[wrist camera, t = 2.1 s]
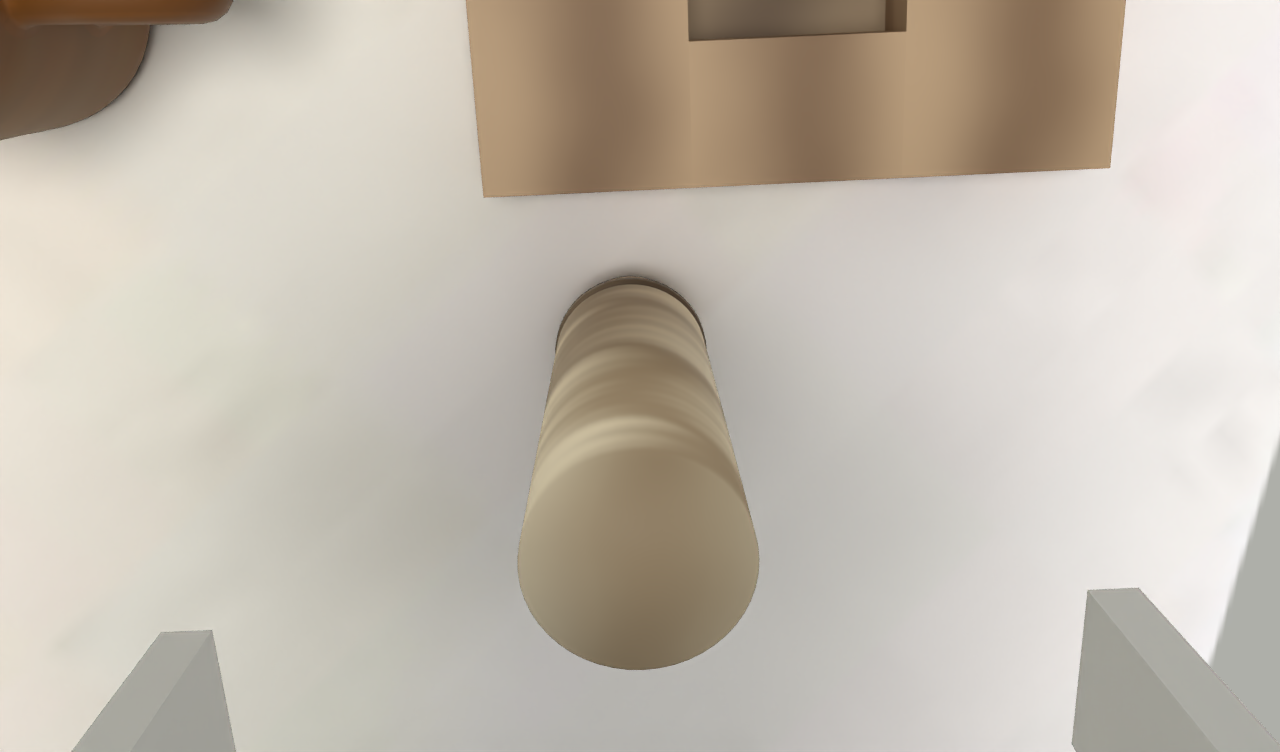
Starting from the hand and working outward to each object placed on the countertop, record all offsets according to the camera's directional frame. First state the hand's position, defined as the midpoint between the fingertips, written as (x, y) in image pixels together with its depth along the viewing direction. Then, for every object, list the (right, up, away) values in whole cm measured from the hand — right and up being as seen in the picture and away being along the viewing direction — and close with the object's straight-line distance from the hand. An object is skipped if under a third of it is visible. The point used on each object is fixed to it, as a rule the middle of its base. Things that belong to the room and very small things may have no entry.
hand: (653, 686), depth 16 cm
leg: (-1, +6, +19) cm, 20 cm away
